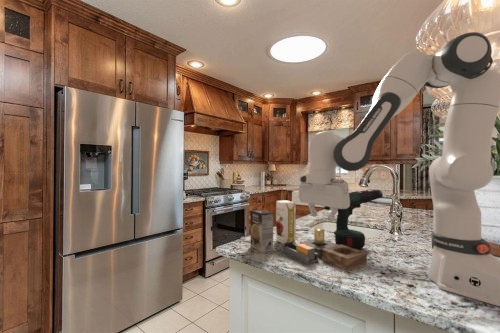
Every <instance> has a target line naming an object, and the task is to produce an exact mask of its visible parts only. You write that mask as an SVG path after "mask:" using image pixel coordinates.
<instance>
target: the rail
mask: <svg viewBox="0 0 500 333" xmlns="http://www.w3.org/2000/svg"><path fill="white" fill-rule="evenodd" d="M296 245H297V244H296V243H293V242H292V241H291V242H286V243H284V244H282V246H281V248H282V250H281V253H282V254H283V255H284V256H287V257H289V258H291V259H293V260H296V261H297V262H299V263H301V264H303V265H305V266H307V265H311V264H312V265H313V264H314V263H319V257H318V253H315V259H313V260H310V261H309V257H308V256H307V255H305V254H303V253H300V252H298V251H296Z"/></svg>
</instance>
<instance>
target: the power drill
mask: <svg viewBox="0 0 500 333" xmlns="http://www.w3.org/2000/svg"><path fill="white" fill-rule="evenodd" d="M383 195H384V194H383V192H382V191H381V190H380V189H373V190H367V189H366V190H361V191H358V190H356V191H351V192H349V198H350V206H349V207H348V208H347V209H338V211H337V215H336V221H335V223H336V225H335V226H336V229H335V230H334V231H333V235H334V241H335V244H338V245H341V244H342V245H345V246H348V247H351V248H354V249H357V250H360V251H361V250H362V249H363V248H364V247H365V245H366V236H365V234H364V232H362V231H360V230H355V229H349V226H348V225H349V224H348V223H349V217H350V216H351V215H353V214H354V213H353V211H354V210H355V209H359V208H361V204H366V203H369V202H372V201H375V200H378V199H381V198H383ZM323 208H324V210H325V211H331V210H330V207H327V206H323Z"/></svg>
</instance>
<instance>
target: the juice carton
mask: <svg viewBox="0 0 500 333" xmlns="http://www.w3.org/2000/svg"><path fill="white" fill-rule="evenodd" d="M296 209H297V208H296V201H290V200H288V199H287V200H283V199H282V200H276V204H275V220H276V221H275V222H276V223H275V225H276V228H275V232H276V233H275V236H276V237H275V238H276V241H277V242H279V243H281V244H282V245H284V243H286V242H291V241H292V242H293V244H296V241H297V240H296V237H297V235H296V234H297V233H296V231H297V230H296V229H297V228H296V226H297V224H296V223H297V222H296V220H297V219H296V212H297V211H296Z"/></svg>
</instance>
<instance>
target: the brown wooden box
mask: <svg viewBox="0 0 500 333" xmlns="http://www.w3.org/2000/svg"><path fill="white" fill-rule="evenodd" d="M321 260H322V261H324V262H327V263H329V264H331V265H334V266H335V267H338V268H340V269H342V270H345V271H349V270H352V269H356V268H358V267H361V266H365V265H367V263H368V252H366V251H363V250H361V249H360V250H357V249H354V248H351V247H348V246H345V245H342V244H341V245H337V246H333V247H329V248H325V249H322V257H321Z"/></svg>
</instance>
